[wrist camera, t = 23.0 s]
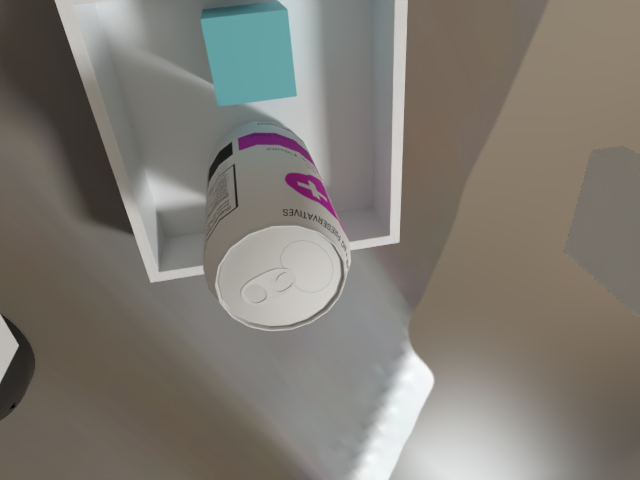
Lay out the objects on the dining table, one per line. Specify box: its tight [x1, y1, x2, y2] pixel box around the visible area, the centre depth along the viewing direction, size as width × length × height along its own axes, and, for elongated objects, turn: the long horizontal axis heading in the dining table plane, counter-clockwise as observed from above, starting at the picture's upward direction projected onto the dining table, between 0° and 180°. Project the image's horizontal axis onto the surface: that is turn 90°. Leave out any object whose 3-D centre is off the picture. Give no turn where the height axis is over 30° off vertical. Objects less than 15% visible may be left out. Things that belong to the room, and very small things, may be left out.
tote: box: [55, 0, 408, 282], centre depth 33 cm, size 20×20×6 cm
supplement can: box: [203, 122, 351, 331], centre depth 31 cm, size 8×8×15 cm
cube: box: [200, 1, 297, 107], centre depth 30 cm, size 5×5×5 cm
